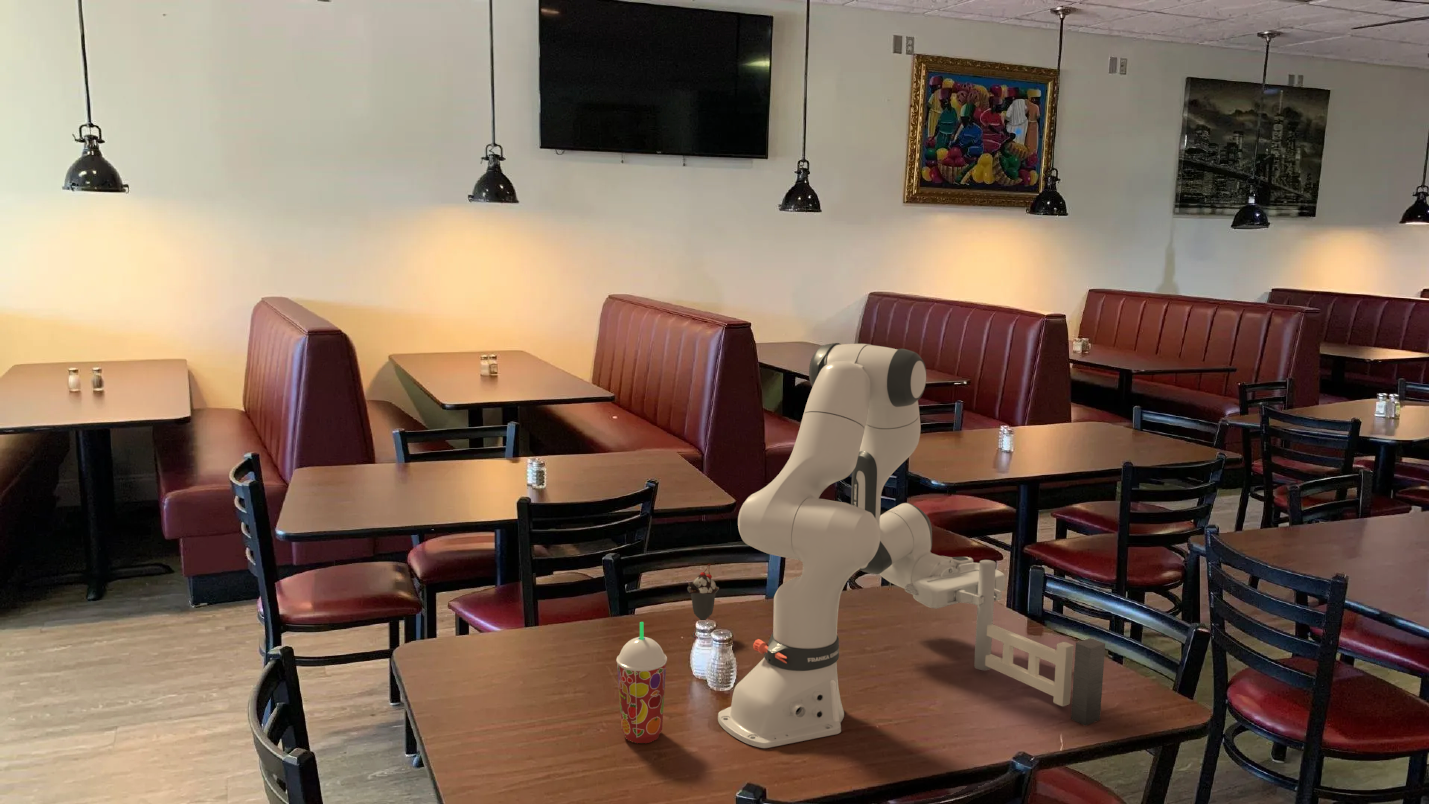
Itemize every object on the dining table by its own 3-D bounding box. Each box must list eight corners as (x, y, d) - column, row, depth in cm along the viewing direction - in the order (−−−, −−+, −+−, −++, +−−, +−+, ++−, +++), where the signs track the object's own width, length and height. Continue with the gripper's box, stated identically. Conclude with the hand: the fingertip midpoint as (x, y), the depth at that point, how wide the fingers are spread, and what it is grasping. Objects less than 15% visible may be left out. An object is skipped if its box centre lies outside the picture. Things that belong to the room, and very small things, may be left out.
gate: (1071, 703, 186) (1079, 590, 183) (1060, 707, 185) (1068, 593, 181) (981, 662, 203) (987, 559, 200) (971, 666, 202) (976, 561, 198)
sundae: (720, 629, 222) (720, 561, 220) (717, 641, 216) (717, 571, 213) (689, 627, 223) (689, 560, 220) (685, 639, 216) (685, 570, 214)
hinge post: (1085, 725, 180) (1090, 648, 178) (1070, 719, 182) (1075, 642, 180) (1099, 719, 182) (1105, 643, 180) (1085, 713, 184) (1090, 638, 182)
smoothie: (620, 724, 179) (619, 613, 176) (668, 725, 179) (668, 613, 176) (614, 747, 171) (613, 631, 168) (664, 748, 171) (664, 632, 167)
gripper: (900, 572, 204) (952, 592, 192) (973, 555, 215) (1026, 573, 204) (898, 603, 205) (950, 625, 193) (971, 584, 216) (1025, 604, 205)
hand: (990, 598), depth 199 cm, fingers open, 3 cm apart
